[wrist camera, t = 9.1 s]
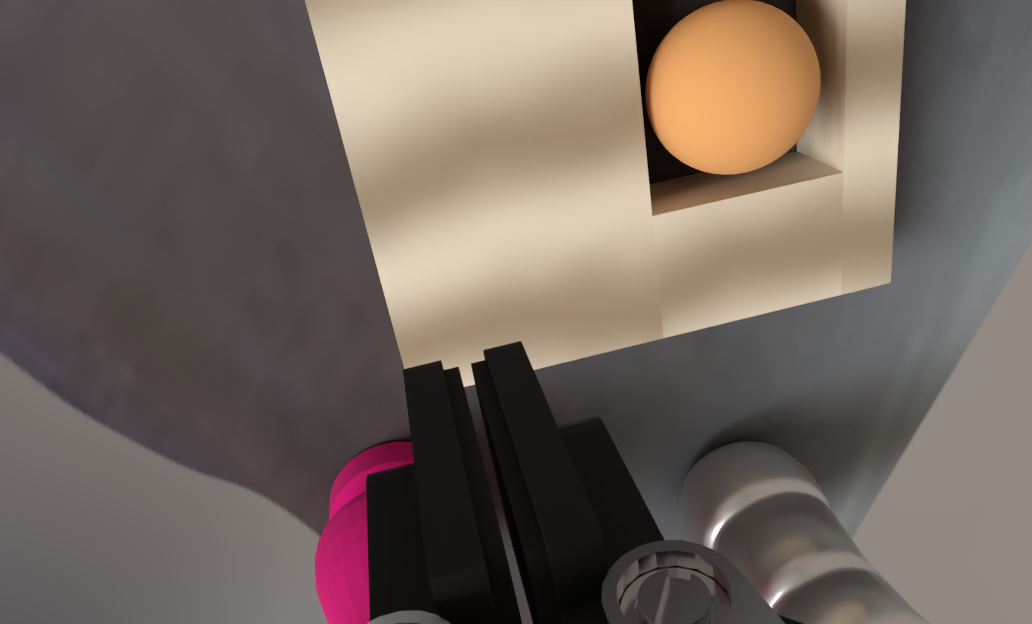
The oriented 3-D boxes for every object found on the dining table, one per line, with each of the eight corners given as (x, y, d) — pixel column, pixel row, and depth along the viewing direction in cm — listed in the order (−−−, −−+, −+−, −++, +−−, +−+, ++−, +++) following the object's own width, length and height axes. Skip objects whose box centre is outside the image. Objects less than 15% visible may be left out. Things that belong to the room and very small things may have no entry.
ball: (637, 149, 25) (836, 126, 24) (631, -20, 26) (821, -53, 25) (657, 202, 31) (818, 187, 29) (652, 61, 32) (807, 39, 30)
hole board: (280, -118, 25) (270, -128, 22) (854, -221, 27) (919, -242, 24) (407, 357, 33) (412, 399, 30) (843, 252, 35) (890, 282, 32)
